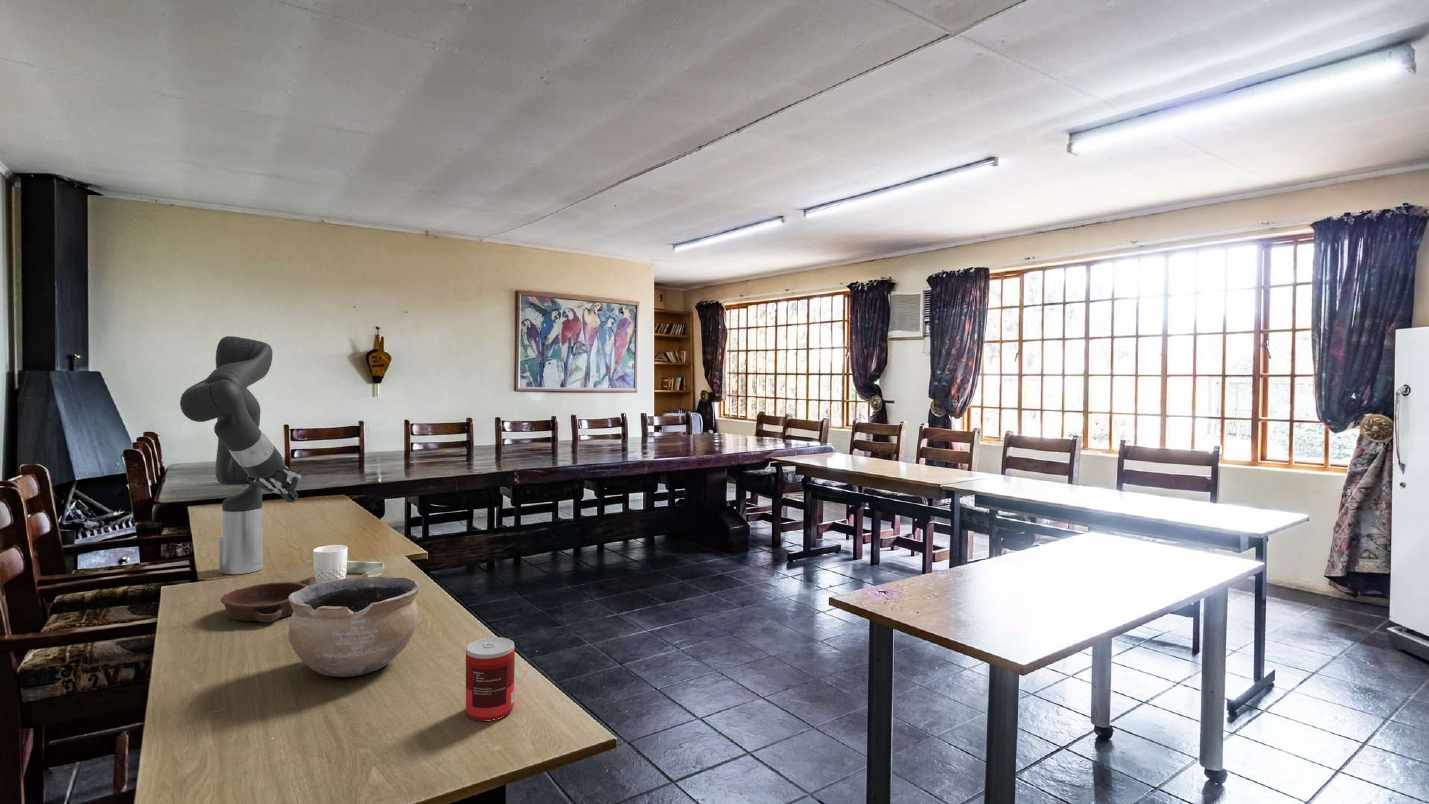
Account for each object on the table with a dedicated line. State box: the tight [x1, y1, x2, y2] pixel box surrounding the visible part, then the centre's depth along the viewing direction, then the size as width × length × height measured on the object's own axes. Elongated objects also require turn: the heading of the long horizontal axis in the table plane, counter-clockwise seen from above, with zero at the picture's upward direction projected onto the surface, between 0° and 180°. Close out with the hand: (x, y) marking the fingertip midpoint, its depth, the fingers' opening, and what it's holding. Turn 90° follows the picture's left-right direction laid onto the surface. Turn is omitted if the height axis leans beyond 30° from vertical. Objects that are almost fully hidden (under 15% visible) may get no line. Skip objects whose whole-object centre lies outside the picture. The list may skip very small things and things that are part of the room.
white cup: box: [312, 544, 348, 585], centre depth 183 cm, size 8×8×10 cm
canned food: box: [465, 636, 516, 722], centre depth 117 cm, size 8×8×11 cm
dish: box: [220, 581, 308, 623], centre depth 163 cm, size 18×22×5 cm
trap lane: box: [295, 560, 385, 586], centre depth 186 cm, size 13×24×3 cm, turn 175°
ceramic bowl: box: [287, 576, 420, 678], centre depth 133 cm, size 22×22×15 cm
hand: (292, 499), depth 168 cm, fingers closed
